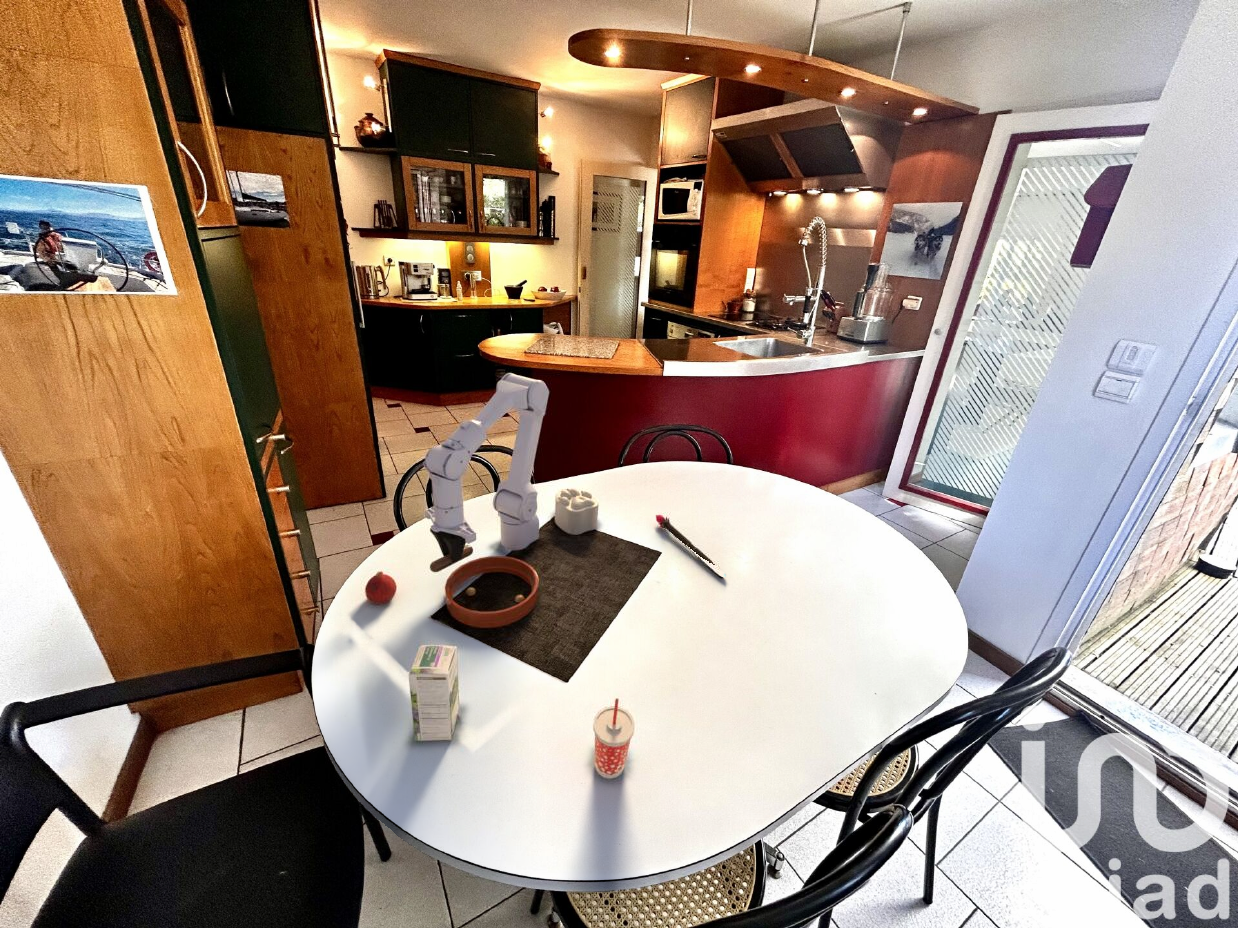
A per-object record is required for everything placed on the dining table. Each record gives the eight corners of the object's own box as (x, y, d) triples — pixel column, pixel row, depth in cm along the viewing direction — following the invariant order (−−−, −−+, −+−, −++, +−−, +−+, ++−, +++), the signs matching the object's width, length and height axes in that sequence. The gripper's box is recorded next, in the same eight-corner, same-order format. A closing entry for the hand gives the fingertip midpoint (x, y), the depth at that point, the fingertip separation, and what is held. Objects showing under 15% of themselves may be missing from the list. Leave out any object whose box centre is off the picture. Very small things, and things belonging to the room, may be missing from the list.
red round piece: (386, 615, 100) (382, 583, 97) (361, 609, 101) (356, 578, 98) (403, 597, 105) (399, 566, 102) (379, 591, 106) (375, 561, 103)
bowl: (498, 563, 119) (498, 546, 117) (556, 599, 109) (556, 581, 107) (427, 602, 105) (426, 583, 103) (486, 648, 94) (485, 628, 92)
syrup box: (424, 709, 81) (417, 643, 75) (461, 709, 82) (456, 643, 76) (414, 741, 76) (405, 673, 70) (453, 741, 77) (448, 673, 71)
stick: (468, 550, 111) (468, 541, 110) (475, 555, 110) (475, 546, 109) (427, 571, 103) (427, 561, 102) (434, 576, 102) (433, 566, 101)
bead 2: (516, 592, 106) (525, 593, 106) (517, 598, 107) (525, 600, 107) (513, 598, 104) (522, 600, 104) (513, 605, 105) (522, 607, 105)
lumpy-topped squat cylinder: (570, 536, 132) (571, 509, 128) (546, 515, 141) (547, 488, 137) (601, 526, 138) (603, 499, 134) (576, 506, 147) (578, 480, 143)
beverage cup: (597, 739, 79) (603, 677, 73) (633, 752, 78) (642, 689, 72) (583, 775, 74) (589, 710, 68) (622, 789, 72) (631, 724, 66)
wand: (720, 573, 118) (650, 510, 140) (717, 586, 120) (648, 522, 142) (733, 568, 120) (662, 507, 142) (729, 581, 122) (660, 519, 144)
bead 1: (471, 594, 108) (466, 587, 107) (478, 591, 107) (474, 584, 107) (467, 599, 106) (462, 592, 106) (474, 597, 105) (470, 589, 105)
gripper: (410, 496, 101) (415, 551, 107) (453, 522, 93) (457, 580, 99) (440, 485, 106) (444, 538, 112) (483, 509, 99) (485, 565, 104)
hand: (452, 557), depth 106 cm, fingers closed on stick, 2 cm apart
